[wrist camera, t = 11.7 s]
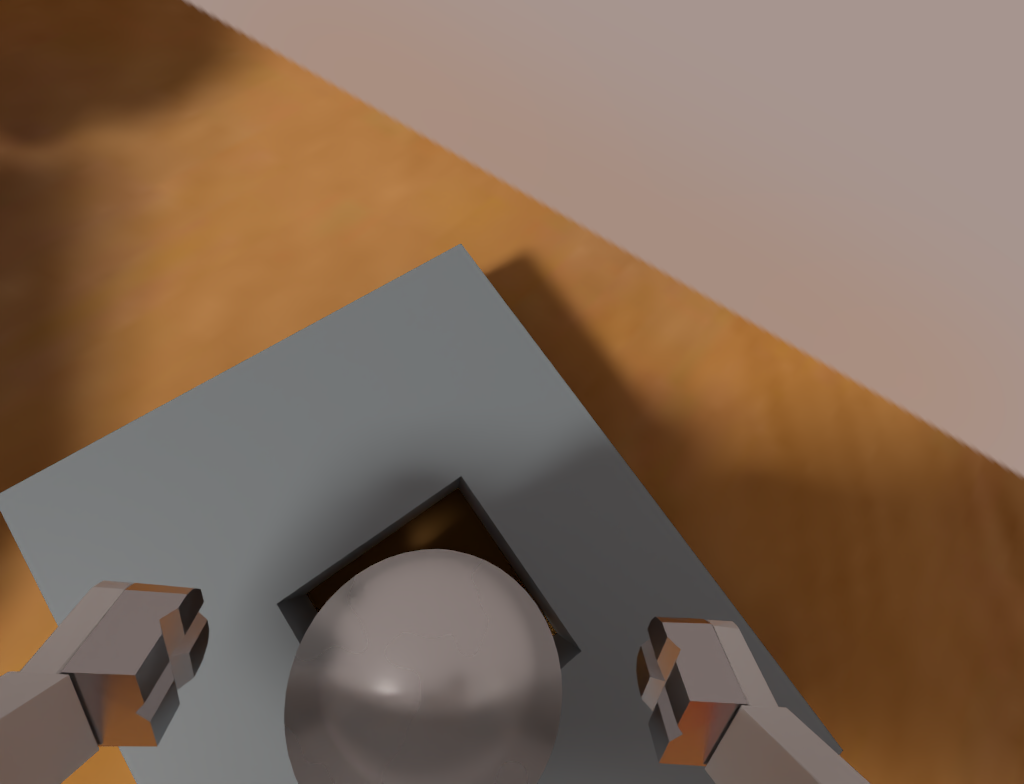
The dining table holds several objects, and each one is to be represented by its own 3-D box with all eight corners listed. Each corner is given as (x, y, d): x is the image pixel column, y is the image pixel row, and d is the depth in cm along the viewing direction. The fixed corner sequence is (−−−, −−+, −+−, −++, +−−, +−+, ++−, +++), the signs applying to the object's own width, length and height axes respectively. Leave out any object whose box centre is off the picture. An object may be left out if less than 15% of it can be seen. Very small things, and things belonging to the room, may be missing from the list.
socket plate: (773, 715, 16) (842, 750, 14) (397, 1113, 13) (384, 1278, 10) (457, 288, 19) (460, 243, 17) (75, 506, 16) (-8, 496, 13)
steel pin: (523, 629, 16) (614, 719, 8) (415, 718, 15) (382, 937, 7) (452, 523, 17) (464, 498, 8) (343, 601, 16) (230, 663, 7)
